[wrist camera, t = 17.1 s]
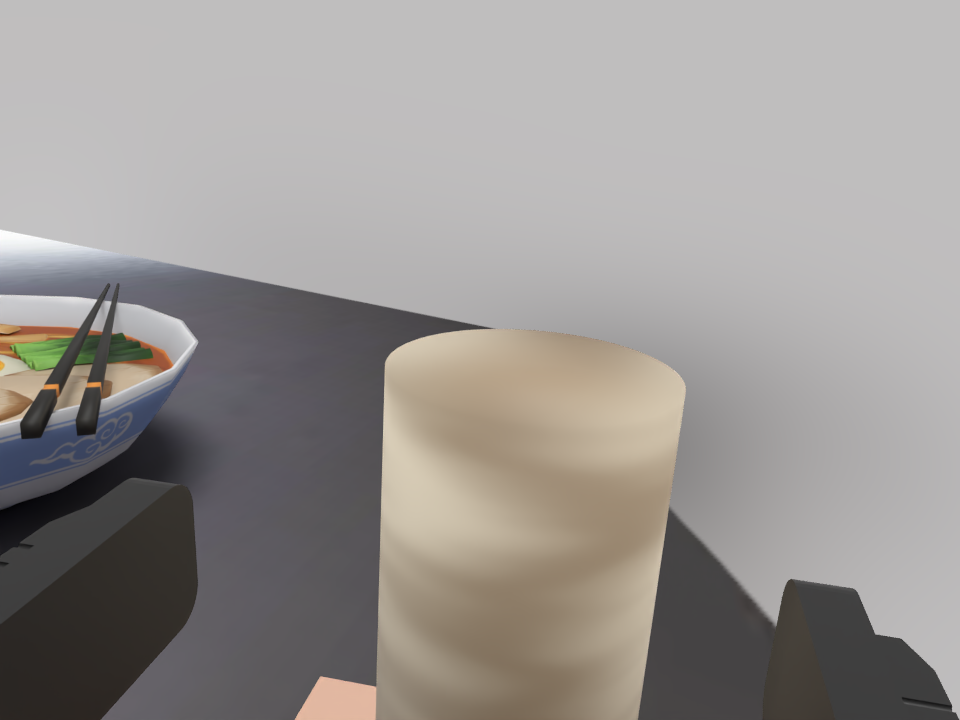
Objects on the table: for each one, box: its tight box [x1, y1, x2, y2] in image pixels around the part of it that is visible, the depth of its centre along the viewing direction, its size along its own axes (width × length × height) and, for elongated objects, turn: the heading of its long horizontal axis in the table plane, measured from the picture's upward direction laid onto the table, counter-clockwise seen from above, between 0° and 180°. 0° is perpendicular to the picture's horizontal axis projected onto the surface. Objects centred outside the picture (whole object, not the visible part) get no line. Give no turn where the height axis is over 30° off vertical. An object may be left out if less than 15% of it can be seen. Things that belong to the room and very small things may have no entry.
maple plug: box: [376, 329, 686, 720], centre depth 16 cm, size 5×5×14 cm
